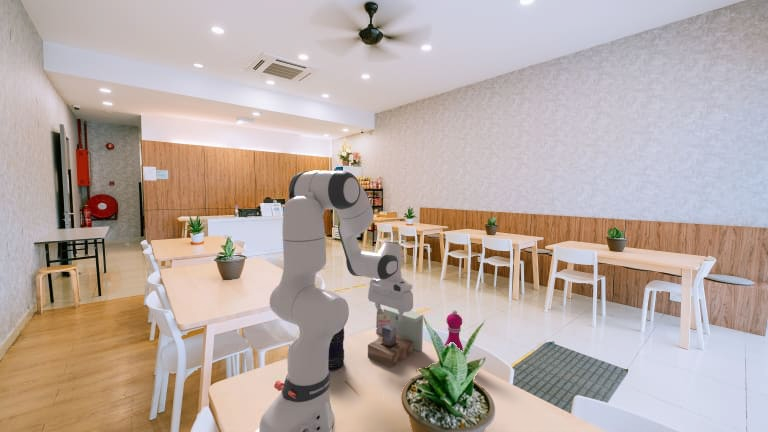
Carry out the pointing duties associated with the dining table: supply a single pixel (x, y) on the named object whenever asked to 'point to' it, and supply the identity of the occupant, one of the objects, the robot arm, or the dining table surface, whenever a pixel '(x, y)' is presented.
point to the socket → (390, 351)
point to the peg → (389, 336)
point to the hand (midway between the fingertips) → (389, 317)
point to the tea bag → (382, 322)
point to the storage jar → (336, 351)
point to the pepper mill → (454, 329)
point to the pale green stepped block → (408, 326)
